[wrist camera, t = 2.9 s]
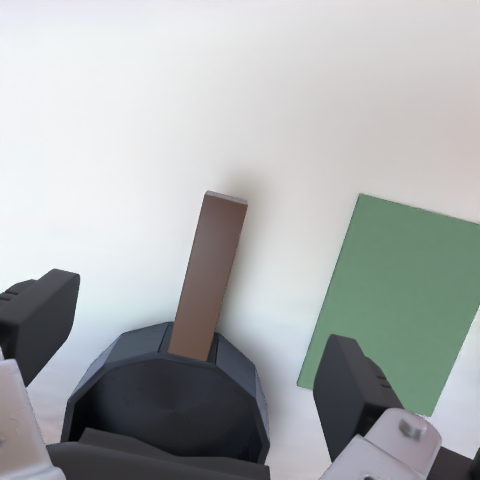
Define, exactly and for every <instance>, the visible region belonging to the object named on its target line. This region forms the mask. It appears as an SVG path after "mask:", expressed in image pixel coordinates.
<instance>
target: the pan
mask: <svg viewBox="0 0 480 480" xmlns="http://www.w3.org/2000/svg"><path fill="white" fill-rule="evenodd" d="M247 207H248V202H247V200H243V199H239V198H235V197H232V196H228V195H224V194H220V193H216V192H212V191H207V192H206V193H205V195H204V199H203V203H202V208H201V212H200V216H199V220H198V225H197V229H196V233H195V237H194V242H193V246H192V250H191V254H190V258H189V263H188V267H187V271H186V275H185V280H184V284H183V288H182V292H181V296H180V301H179V305H178V309H177V313H176V318H175V322H166V323H162V324H158V325H154V326H150V327H146V328H142V329H138V330H134V331H130V332H127V333H123V334H121V335H120V336H119V337H118V338H117V339H116V340H115V341H114V342H113V343H112V344H111V345H110V346H109V347H108V348H107V349H106V350H105V351H104V352H103V353H102V354H101V355H100V356H99V357H98V358H97V359H96V360H95V361H94V362H93V363H92V364H91V365H90V367H89V368H88V370H87V371H86V373H85V375H84V376H83V378H82V379H81V381H80V382H79V384H78V385H77V387H76V388H75V390H74V391H73V393H72V394H71V396H70V398H69V399H68V401H67V406H66V412H65V418H64V423H63V429H62V435H61V441H60V443H64V442H79V440H80V438H81V436H82V434H83V432H84V431H85V429H86V428H90V429H95V430H100V431H105V432H109V433H114V434H119V435H124V436H128V437H132V438H135V439H137V440H139V441H142V442H144V443H146V444H149V445H151V446H153V447H156V448H158V449H160V450H162V451H165V452H167V453H169V454H172V455H174V456H179V457H228V458H233V459H237V460H242V461H247V462H251V463H256V464H261V465H264V463H265V460H266V457H267V454H268V451H269V448H270V437H269V425H268V413H267V404H266V401H265V397H264V394H263V391H262V388H261V384H260V381H259V378H258V374H257V371H256V368H255V365H254V364H253V363H252V362H251V361H250V360H249V359H248V358H246V357H245V356H244V355H243V354H242V353H241V352H240V351H239V350H237V349H236V348H235V347H234V346H233V345H232V344H231V343H229V342H228V341H227V340H226V339H225V338H224V337H223V336H222V335H220V334H218V333H216V332H215V328H216V324H217V320H218V316H219V313H220V309H221V305H222V301H223V298H224V294H225V290H226V286H227V283H228V279H229V275H230V271H231V267H232V264H233V260H234V256H235V252H236V249H237V245H238V241H239V237H240V233H241V230H242V226H243V222H244V218H245V215H246V211H247Z"/></svg>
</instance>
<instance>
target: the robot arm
mask: <svg viewBox="0 0 480 480" xmlns="http://www.w3.org/2000/svg"><path fill="white" fill-rule="evenodd" d="M79 285H80V275H79V274H76V273H72V272H68V271H63V270H59V269H52V270H51V271H49V272H48V273H47V274H45V275H44V276H43V277H41V278H40V279H38V280H33V279H31V280H27V281H24V282H20V283H17V284H15V285H13V286H12V287H10V288H9V289H7V290H6V291H5V293H4V292H3V293H1V294H0V480H270V470H269V466H266V465H261V464H256V463H251V462H247V461H242V460H237V459H233V458H228V457H179V456H174V455H172V454H169V453H167V452H165V451H162V450H160V449H158V448H156V447H153V446H151V445H149V444H146V443H144V442H142V441H139V440H137V439H135V438H132V437H128V436H124V435H119V434H114V433H109V432H105V431H100V430H95V429H90V428H86V429H85V431H84V432H83V434H82V436H81V438H80V440H79V442H64V443H56V444H50V445H46V446H45V443H44V440H43V437H42V434H41V431H40V428H39V425H38V423H37V420H36V417H35V414H34V411H33V408H32V405H31V402H30V399H29V397H28V394H27V391H26V387H27V386H28V385H29V384H30V383H31V381H32V380H33V379H34V378H35V377H36V376H37V374H38V373H39V372H40V371H41V370H42V368H43V367H44V366H45V365H46V364H47V362H48V361H49V360H50V359H51V358H52V356H53V355H54V354H55V353H56V352H57V350H58V349H59V348H60V347H61V346H62V345H63V343H64V342H65V341H66V339H67V338H68V336H69V334H70V331H71V329H72V325H73V321H74V315H75V309H76V303H77V297H78V291H79ZM313 396H314V400H315V404H316V407H317V411H318V415H319V418H320V422H321V426H322V429H323V433H324V436H325V440H326V444H327V447H328V451H329V455H330V458H331V462H332V464H331V465H330V467H329V468H328V469H327V470H326V471H325V472H324V474H323V475H322V476H321V477H320V478H319V480H480V448H479V449H478V451H477V453H476V455H475V457H474V460H472V459H470V458H467V457H465V456H463V455H460V454H458V453H456V452H453V451H451V450H448V449H446V448H444V447H442V446H441V444H442V438H441V436H440V434H439V432H438V431H437V430H436V429H435V428H434V427H433V426H432V425H431V424H430V423H429V422H428V421H426V420H425V419H423V418H422V417H420V416H418V415H417V414H415V413H412V412H410V411H407V410H405V408H404V407H403V405H402V403H401V402H400V400H399V398H398V397H397V395H396V393H395V392H394V390H393V389H392V386H391V385H390V383H389V381H388V380H387V378H386V376H385V375H384V373H383V371H382V370H381V368H380V367H379V366H378V365H377V364H376V363H374V362H373V361H372V360H371V359H370V358H369V357H365V355H364V353H363V352H362V350H361V348H360V346H359V344H358V343H357V341H356V339H353V338H349V337H345V336H340V335H336V334H331V335H330V336H329V338H328V340H327V342H326V345H325V348H324V351H323V354H322V357H321V360H320V363H319V366H318V369H317V372H316V375H315V379H314V385H313Z"/></svg>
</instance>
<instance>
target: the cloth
mask: <svg viewBox="0 0 480 480" xmlns="http://www.w3.org/2000/svg"><path fill="white" fill-rule="evenodd" d="M479 305H480V225H478V224H474V223H470V222H466V221H463V220H459V219H455V218H451V217H447V216H444V215H440V214H436V213H432V212H428V211H424V210H421V209H417V208H413V207H409V206H405V205H401V204H398V203H394V202H390V201H386V200H382V199H378V198H375V197H371V196H367V195H363V194H359V197H358V200H357V203H356V206H355V209H354V212H353V215H352V218H351V221H350V224H349V227H348V230H347V233H346V236H345V239H344V242H343V245H342V248H341V251H340V254H339V257H338V260H337V263H336V266H335V269H334V272H333V275H332V278H331V282H330V285H329V288H328V291H327V294H326V297H325V300H324V303H323V306H322V309H321V312H320V315H319V318H318V321H317V324H316V327H315V330H314V333H313V336H312V339H311V342H310V345H309V348H308V351H307V354H306V357H305V360H304V363H303V366H302V369H301V372H300V375H299V378H298V381H297V386H300V387H305V388H309V389H313V385H314V379H315V375H316V372H317V369H318V366H319V363H320V360H321V357H322V354H323V351H324V348H325V345H326V342H327V340H328V338H329V336H330V335H331V334H336V335H340V336H345V337H349V338H353V339H356V341H357V343H358V344H359V346H360V348H361V350H362V352H363V353H364V355H365V357H369V358H370V359H371V360H372V361H373V362H374V363H376V364H377V365H378V366H379V367H380V368H381V370H382V371H383V373H384V375H385V376H386V378H387V380H388V381H389V383H390V385H391V386H392V389H393V390H394V392H395V393H396V395H397V397H398V398H399V400H400V402H401V403H402V405H403V407H404V408H405V410H407V411H410V412H412V413H417V414H421V415H425V416H430V417H431V415H432V413H433V411H434V409H435V406H436V404H437V402H438V399H439V397H440V395H441V392H442V390H443V388H444V386H445V383H446V381H447V379H448V376H449V374H450V372H451V369H452V367H453V365H454V363H455V360H456V358H457V356H458V353H459V351H460V349H461V346H462V344H463V342H464V340H465V337H466V335H467V333H468V330H469V328H470V326H471V323H472V321H473V319H474V317H475V314H476V312H477V310H478V307H479Z"/></svg>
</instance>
